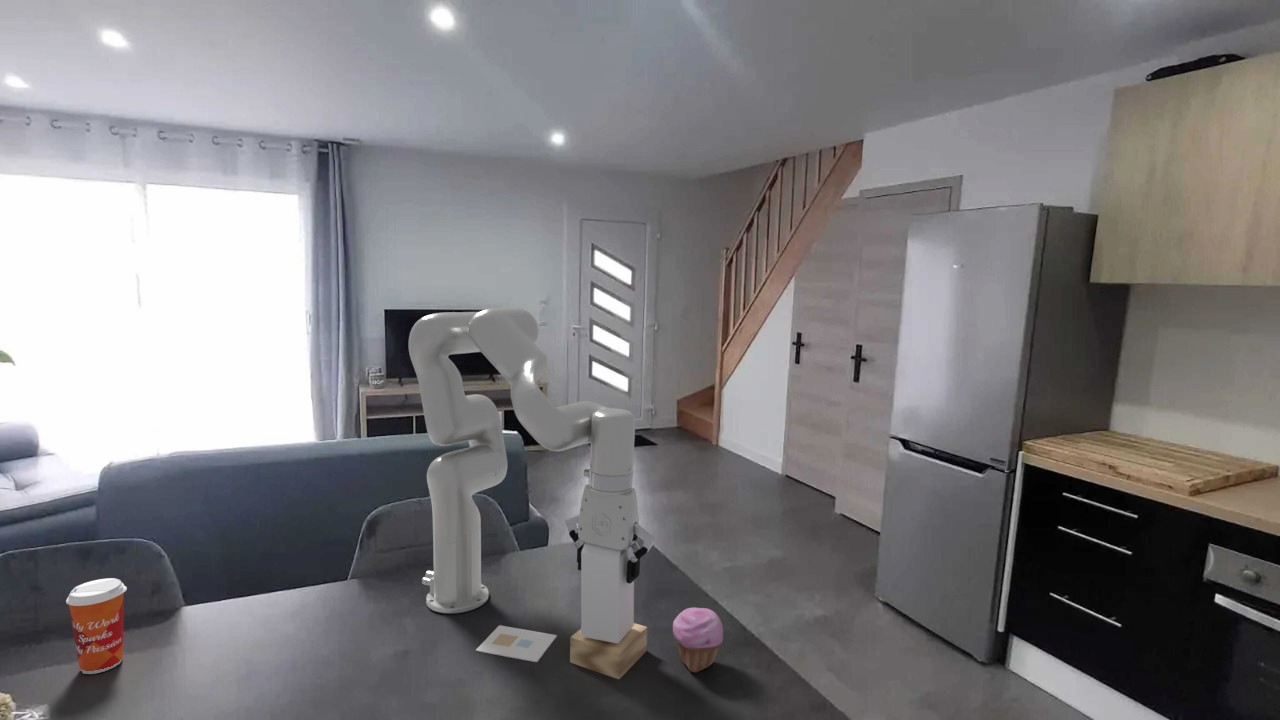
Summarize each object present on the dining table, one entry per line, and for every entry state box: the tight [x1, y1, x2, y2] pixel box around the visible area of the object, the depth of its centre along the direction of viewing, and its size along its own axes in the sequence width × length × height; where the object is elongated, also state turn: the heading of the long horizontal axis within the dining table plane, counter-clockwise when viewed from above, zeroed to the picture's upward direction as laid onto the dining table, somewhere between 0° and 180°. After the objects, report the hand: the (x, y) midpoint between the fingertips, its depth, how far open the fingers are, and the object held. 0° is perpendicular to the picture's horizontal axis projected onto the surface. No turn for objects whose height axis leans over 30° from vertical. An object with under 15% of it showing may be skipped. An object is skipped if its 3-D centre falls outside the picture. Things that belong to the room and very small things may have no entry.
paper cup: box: [65, 577, 128, 671], centre depth 109 cm, size 8×8×14 cm
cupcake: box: [672, 607, 724, 673], centre depth 113 cm, size 9×9×10 cm
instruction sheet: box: [475, 624, 558, 663], centre depth 119 cm, size 12×9×1 cm
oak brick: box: [569, 622, 648, 680], centre depth 115 cm, size 10×10×5 cm
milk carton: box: [580, 543, 635, 643], centre depth 114 cm, size 7×7×19 cm
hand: (607, 573), depth 114 cm, fingers open, 9 cm apart
